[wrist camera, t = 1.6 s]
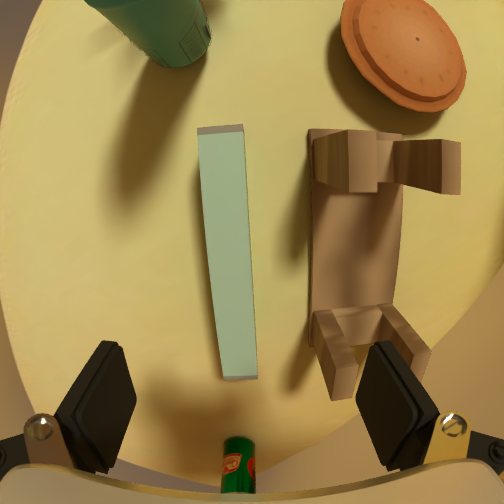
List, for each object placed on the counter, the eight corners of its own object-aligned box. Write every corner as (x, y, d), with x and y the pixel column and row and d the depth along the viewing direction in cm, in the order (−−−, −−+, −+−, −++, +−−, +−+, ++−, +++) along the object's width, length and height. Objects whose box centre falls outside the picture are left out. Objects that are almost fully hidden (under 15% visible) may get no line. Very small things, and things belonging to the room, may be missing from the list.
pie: (382, 138, 27) (405, 136, 22) (302, 18, 23) (311, -3, 18) (466, 92, 24) (491, 87, 19) (400, -11, 20) (418, -27, 15)
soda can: (237, 431, 39) (235, 494, 28) (261, 442, 40) (263, 502, 29) (217, 443, 40) (212, 502, 29) (241, 453, 41) (240, 510, 30)
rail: (244, 131, 26) (242, 124, 21) (256, 346, 34) (257, 379, 28) (207, 134, 26) (197, 128, 21) (227, 347, 34) (223, 380, 28)
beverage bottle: (225, 56, 24) (189, -80, 5) (165, 85, 25) (46, 0, 6) (199, 12, 22) (148, -118, 3) (143, 41, 23) (36, -55, 4)
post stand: (398, 134, 26) (462, 129, 16) (383, 333, 34) (420, 389, 23) (308, 129, 26) (342, 113, 16) (308, 342, 34) (327, 408, 23)
